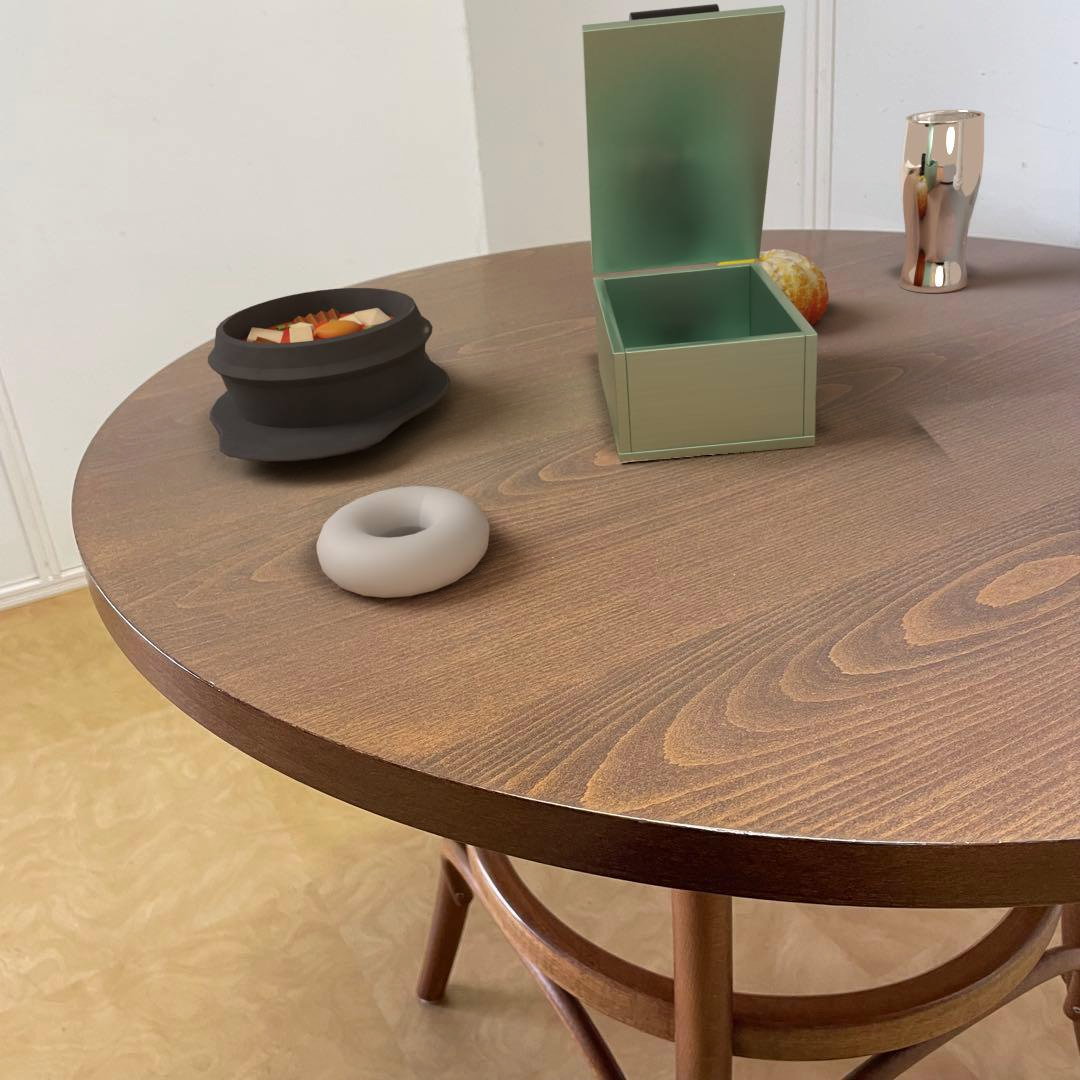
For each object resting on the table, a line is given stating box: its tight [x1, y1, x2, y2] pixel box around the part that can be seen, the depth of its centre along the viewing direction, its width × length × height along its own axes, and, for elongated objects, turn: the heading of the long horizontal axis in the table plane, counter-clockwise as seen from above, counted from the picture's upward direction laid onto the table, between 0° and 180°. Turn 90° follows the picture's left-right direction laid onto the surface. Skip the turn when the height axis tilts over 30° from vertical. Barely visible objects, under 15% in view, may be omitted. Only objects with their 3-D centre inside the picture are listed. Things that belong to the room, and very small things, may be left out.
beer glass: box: [898, 109, 986, 294], centre depth 102 cm, size 7×7×15 cm
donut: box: [316, 485, 490, 599], centre depth 65 cm, size 10×4×10 cm
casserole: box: [207, 287, 451, 463], centre depth 86 cm, size 25×19×8 cm
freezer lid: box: [581, 3, 786, 275], centre depth 82 cm, size 20×13×5 cm
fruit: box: [716, 248, 830, 327], centre depth 99 cm, size 11×10×8 cm
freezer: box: [592, 262, 819, 463], centre depth 82 cm, size 19×13×8 cm
